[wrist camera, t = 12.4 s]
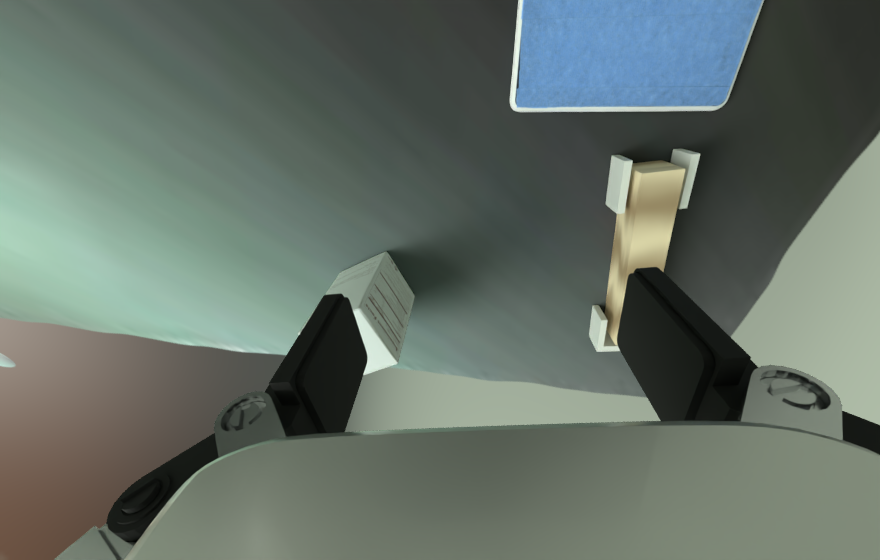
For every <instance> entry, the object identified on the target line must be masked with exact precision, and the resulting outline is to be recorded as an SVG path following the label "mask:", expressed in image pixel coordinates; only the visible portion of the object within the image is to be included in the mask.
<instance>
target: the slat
mask: <svg viewBox="0 0 880 560" xmlns="http://www.w3.org/2000/svg"><path fill="white" fill-rule="evenodd" d="M684 174H685V168H682V167H679V166H677V165H674V164H671V163H668V162H666V161H663V160H659V161H650V162H641V163H633V164H632V168H631V175H630V181H629V187H628V194H627V200H626V207H625V213H623V214H617V220H616V228H615V235H614V243H613V251H612V259H611V267H610V274H609V282H608V290H607V298H606V306H605V313H604V315H605V317H606V318H607V320H608V321H607V328H606V330H607V331H608V333H609V335H610V337H611V338H612V340H613V342H614V344H615V345H618V344H617V334H618V329H619V323H620V318H621V312H622V307H623V301H624V296H625V290H626V285H627V279H628V276H629V274H630V273H634V271H635V269H637V268H647V267H658V268H659V269H660V270H661V271H662V272H663V271H664V267H665V262H666V257H667V253H668V248H669V243H670V239H671V234H672V230H673V225H674V220H675V216H676V211H677V206H678V202H679V197H680V193H681V188H682V183H683V179H684Z"/></svg>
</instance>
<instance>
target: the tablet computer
mask: <svg viewBox="0 0 880 560" xmlns="http://www.w3.org/2000/svg"><path fill="white" fill-rule="evenodd" d="M763 2H764V0H518V12H517V23H516V35H515V47H514V59H513V71H512V81H511V93H510V105H511V108H512V109H513V110H514V111H517V112H634V111H713V110H717V109H719V108H721V107H722V106H723V105H724V104H725V103H726V102H727V100H728V98H729V96H730V93H731V90H732V87H733V84H734V82H735V79H736V76H737V73H738V71H739V68H740V65H741V62H742V60H743V57H744V54H745V51H746V49H747V46H748V43H749V40H750V38H751V35H752V32H753V29H754V27H755V24H756V21H757V18H758V16H759V13H760V10H761V7H762V5H763Z"/></svg>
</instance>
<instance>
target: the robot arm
mask: <svg viewBox="0 0 880 560" xmlns="http://www.w3.org/2000/svg"><path fill="white" fill-rule="evenodd" d="M617 344H618V347H619V349H620V351H621V353H622V355H623V356H624V358H625V360H626V362H627V363H628V365H629V367H630V368H631V370H632V372H633V374H634V375H635V377H636V379H637V381H638V382H639V384H640V386H641V387H642V389H643V391H644V393H645V394H646V396H647V398H648V399H649V401H650V403H651V405H652V406H653V408H654V410H655V411H656V413H657V415H658V417H659V418H660V420H661V421H646V422H645V421H643V422H642V421H641V422H607V423H574V424H573V423H572V424H541V425H513V426H512V425H511V426H482V427H454V428H429V429H404V430H379V431H358V432H345V428H346V426H347V423H348V419H349V417H350V414H351V410H352V407H353V404H354V401H355V398H356V395H357V392H358V389H359V386H360V383H361V380H362V377H363V374H364V371H365V368H366V365H367V360H368V357H367V352H366V349H365V346H364V343H363V340H362V337H361V334H360V331H359V328H358V325H357V321H356V318H355V315H354V312H353V309H352V306H351V303H350V300H349V298H348V297H344V296H343V294H341V293H340V294H328V295H324V296H323V298H322V299H321V301H320V303H319V304H318V306H317V307H316V309H315V311H314V312H313V314H312V315H311V317H310V319H309V320H308V322H307V323H306V325H305V327H304V328H303V330H302V331H301V333H300V335H299V336H298V338H297V339H296V341H295V343H294V344H293V346H292V347H291V349H290V351H289V352H288V354H287V355H286V357H285V359H284V360H283V362H282V363H281V365H280V366H279V368H278V370H277V371H276V373H275V374H274V376H273V378H272V379H271V381H270V382H269V386H268V388H267V389H266V391H265V392H257V391H256V392H251V393H247V394H245V395H243V396H240V397H238V398H237V399H235V400H234V401H232V402H231V403H229V404H228V405H227V406H226V407H225V408H224V409H223V410H222V411H221V412H220V414H219V415H218V417H217V419H216V421H215V426H214V432H215V433H214V434H212V435H211V436H209V437H207V438H206V439H204V440H202V441H201V442H199V443H197V444H196V445H194V446H193V447H191V448H189V449H188V450H186V451H184V452H183V453H181V454H179V455H178V456H176V457H175V458H173V459H171V460H170V461H168V462H166V463H165V464H163V465H161V466H160V467H158V468H157V469H155V470H153V471H152V472H150V473H148V474H147V475H145V476H143V477H142V478H141V479H139V480H138V481H136V482H135V483H134V484H132V485H131V486H130V487H129V488H128V489H127V490H126V491H125V492H124V493H122V495H121V496H120V497H119V498H118V500H117V501H116V502H115V503H114V505H113V507H112V508H111V510H110V512H109V514H108V519H107V523H106V524H105V525H104V526H103V527H101V528H100V529H98V528H97V527H96V526H94V527H93V528H91V529H90V530H89V531H88V532H87V533H85V534H84V535H83V536H82V537H81V538H79V539H78V540H77V541H76V542H75V543H73V544H72V545H71V546H70V547H68V548H67V549H66V550H65V551H64V552H63V553H61V554H60V555H59V556H58V557H56V558H55V559H54V560H880V425H878V424H875V423H873V422H870V421H867V420H865V419H862V418H860V417H857V416H854V415H852V414H849V413H847V412H844V411H842V404H841V401H840V398H839V397H838V396H837V394H836V393H835V392H834V391H833V390H832V389H831V388H830V387H829V386H827V385H826V384H825V383H823V382H822V381H820V380H818V379H816V378H815V377H813V376H811V375H809V374H806V373H804V372H801V371H799V370H796V369H792V368H787V367H783V366H775V365H769V366H761V367H759V368H758V367H757V366H756V365H755V364H754V363H753V362H752V361H751V360H750V358H751V357H750V356H749V355H748V354H747V353H746V352H745V351H744V350H743V349H742V348H741V347H740V346H739V345H738V344H737V343H735V341H734V340H732V339H731V337H729V336H728V335H727V334H726V333H725V332H724V331H723V330H722V329H721V328H720V327H719V326H718V325H717V324H716V323H715V322H714V321H713V320H712V319H711V318H710V317H709V316H708V315H707V314H706V313H705V312H704V311H703V310H702V309H701V308H700V307H699V306H697V305H696V304H695V303H694V302H693V301H692V300H691V299H690V298H689V297H688V296H687V295H686V294H685V293H684V292H683V291H682V290H681V289H680V288H679V287H678V286H677V285H676V284H675V283H674V282H673V281H672V280H671V279H670V278H669V277H668V276H667V275H666V274H664V273H663V272H662V271H661V270H660V269H659V268H658V267H647V268H637V269H635V271H634V273H630V274H629V276H628V279H627V285H626V290H625V296H624V301H623V307H622V312H621V318H620V323H619V329H618V334H617Z"/></svg>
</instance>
